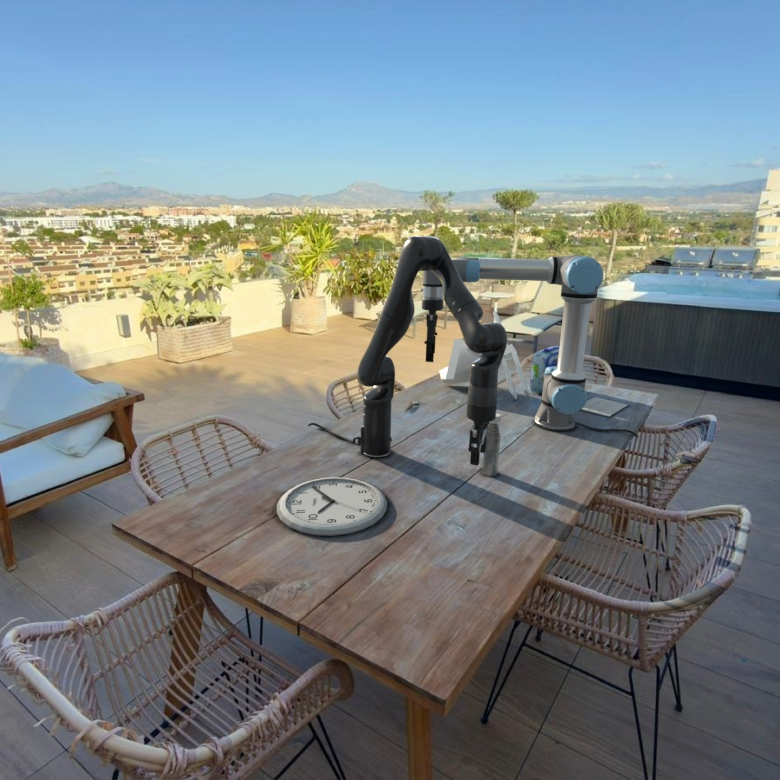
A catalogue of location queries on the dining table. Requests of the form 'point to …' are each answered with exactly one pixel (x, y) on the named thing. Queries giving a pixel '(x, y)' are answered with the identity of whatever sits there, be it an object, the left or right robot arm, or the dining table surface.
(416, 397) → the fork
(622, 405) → the invitation card
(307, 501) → the wall clock
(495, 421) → the cap
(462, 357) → the white plastic object
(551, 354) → the lunch box
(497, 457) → the bottle
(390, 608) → the dining table surface
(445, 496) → the dining table surface
